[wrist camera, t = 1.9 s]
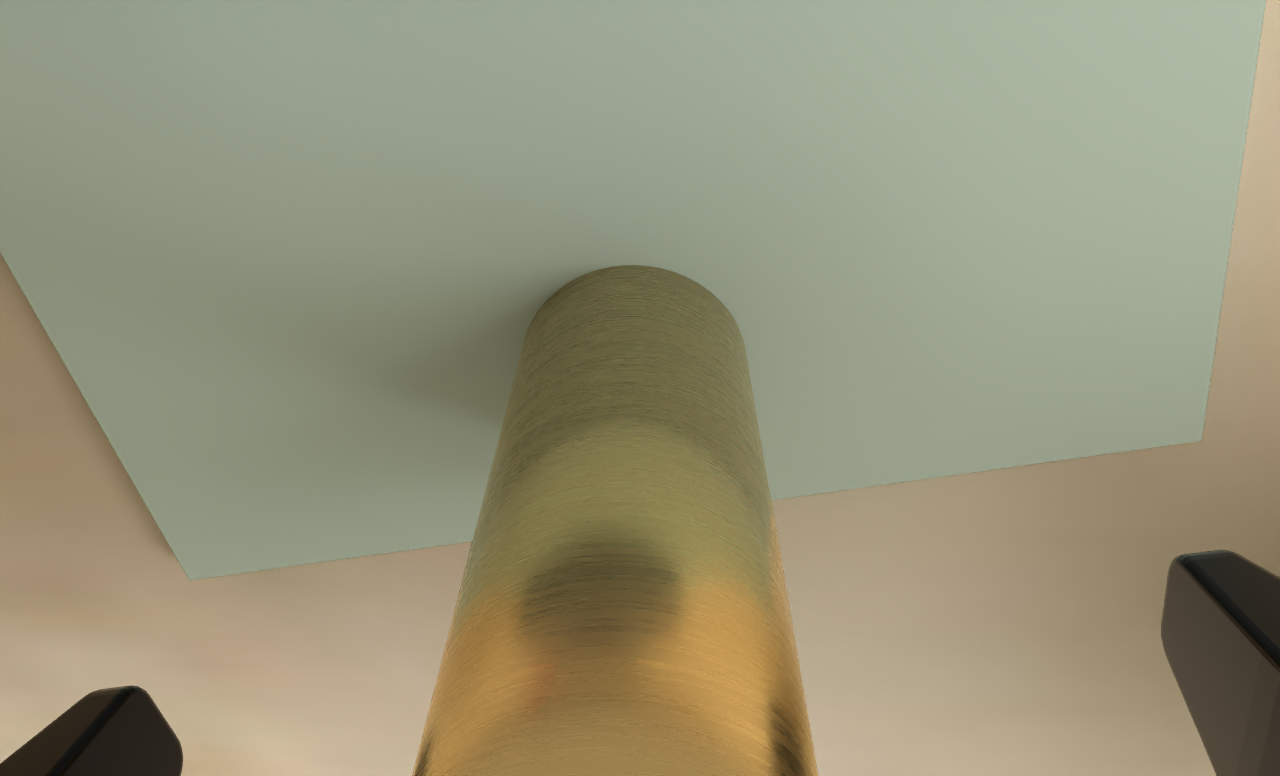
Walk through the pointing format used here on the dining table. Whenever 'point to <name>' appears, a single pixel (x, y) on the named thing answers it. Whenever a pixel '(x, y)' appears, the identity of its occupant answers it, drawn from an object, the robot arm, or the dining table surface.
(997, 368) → the mat
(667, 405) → the pin
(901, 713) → the dining table surface
